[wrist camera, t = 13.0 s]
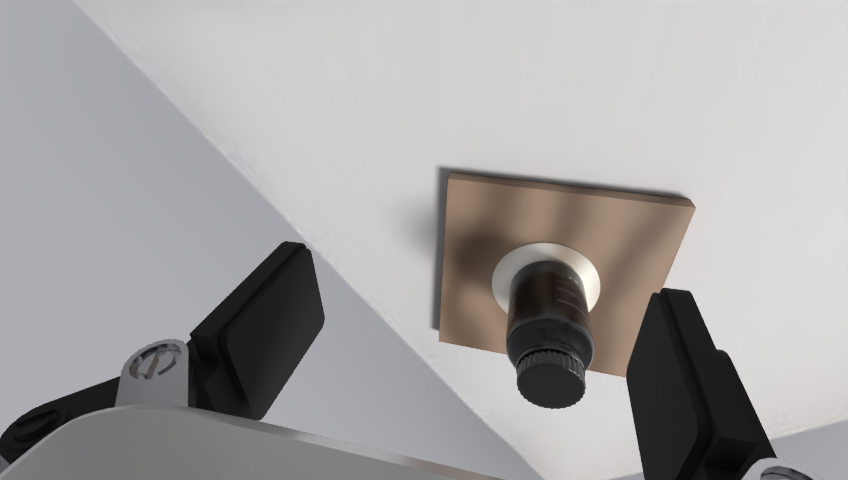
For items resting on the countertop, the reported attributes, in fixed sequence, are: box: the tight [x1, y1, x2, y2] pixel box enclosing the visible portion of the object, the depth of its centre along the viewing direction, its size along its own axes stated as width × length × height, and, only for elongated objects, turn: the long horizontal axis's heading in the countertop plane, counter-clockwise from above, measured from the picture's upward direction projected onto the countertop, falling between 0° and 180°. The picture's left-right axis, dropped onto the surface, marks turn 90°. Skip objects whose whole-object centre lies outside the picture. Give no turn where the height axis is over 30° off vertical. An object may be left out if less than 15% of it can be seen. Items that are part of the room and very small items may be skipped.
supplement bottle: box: [506, 260, 595, 409], centre depth 35 cm, size 7×7×12 cm
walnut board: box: [439, 172, 696, 377], centre depth 41 cm, size 20×20×2 cm
